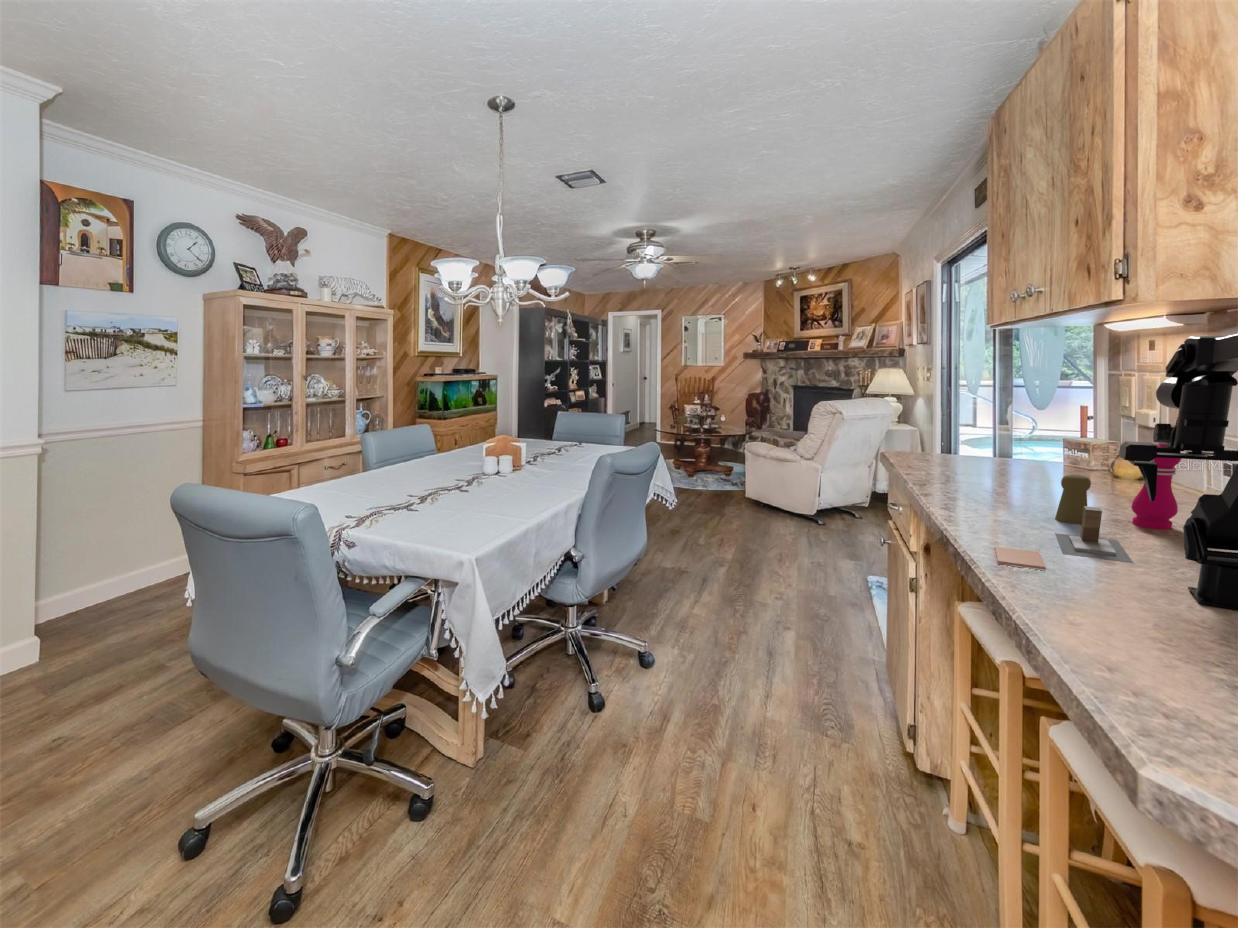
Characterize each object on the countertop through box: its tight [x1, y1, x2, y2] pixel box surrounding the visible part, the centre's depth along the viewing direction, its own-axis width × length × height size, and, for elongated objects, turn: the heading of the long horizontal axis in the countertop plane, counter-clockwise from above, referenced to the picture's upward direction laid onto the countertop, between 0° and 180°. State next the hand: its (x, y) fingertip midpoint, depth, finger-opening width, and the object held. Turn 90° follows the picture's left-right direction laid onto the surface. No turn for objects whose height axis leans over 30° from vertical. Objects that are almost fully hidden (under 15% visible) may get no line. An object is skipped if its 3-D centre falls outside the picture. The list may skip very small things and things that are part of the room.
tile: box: [994, 546, 1047, 572], centre depth 103 cm, size 1×7×9 cm
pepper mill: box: [1131, 442, 1182, 531], centre depth 119 cm, size 7×7×20 cm
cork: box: [1054, 474, 1092, 525], centre depth 125 cm, size 6×6×11 cm
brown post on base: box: [1068, 505, 1116, 556], centre depth 108 cm, size 9×6×7 cm, turn 147°
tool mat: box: [1054, 532, 1134, 564], centre depth 108 cm, size 15×10×1 cm, turn 146°
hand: (1188, 503), depth 94 cm, fingers open, 9 cm apart
